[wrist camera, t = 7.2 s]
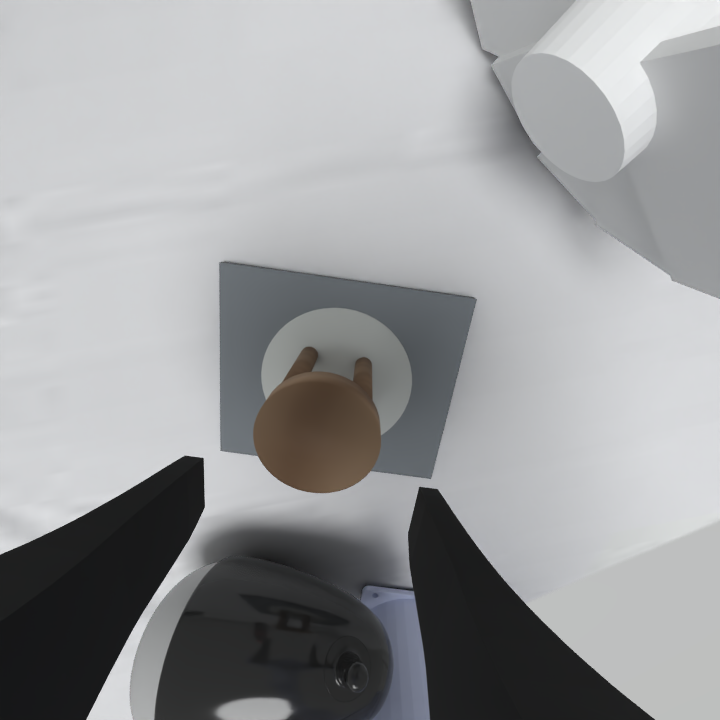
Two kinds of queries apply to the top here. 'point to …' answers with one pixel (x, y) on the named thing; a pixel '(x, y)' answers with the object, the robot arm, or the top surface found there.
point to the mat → (342, 353)
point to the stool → (319, 427)
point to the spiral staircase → (623, 116)
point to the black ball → (260, 649)
